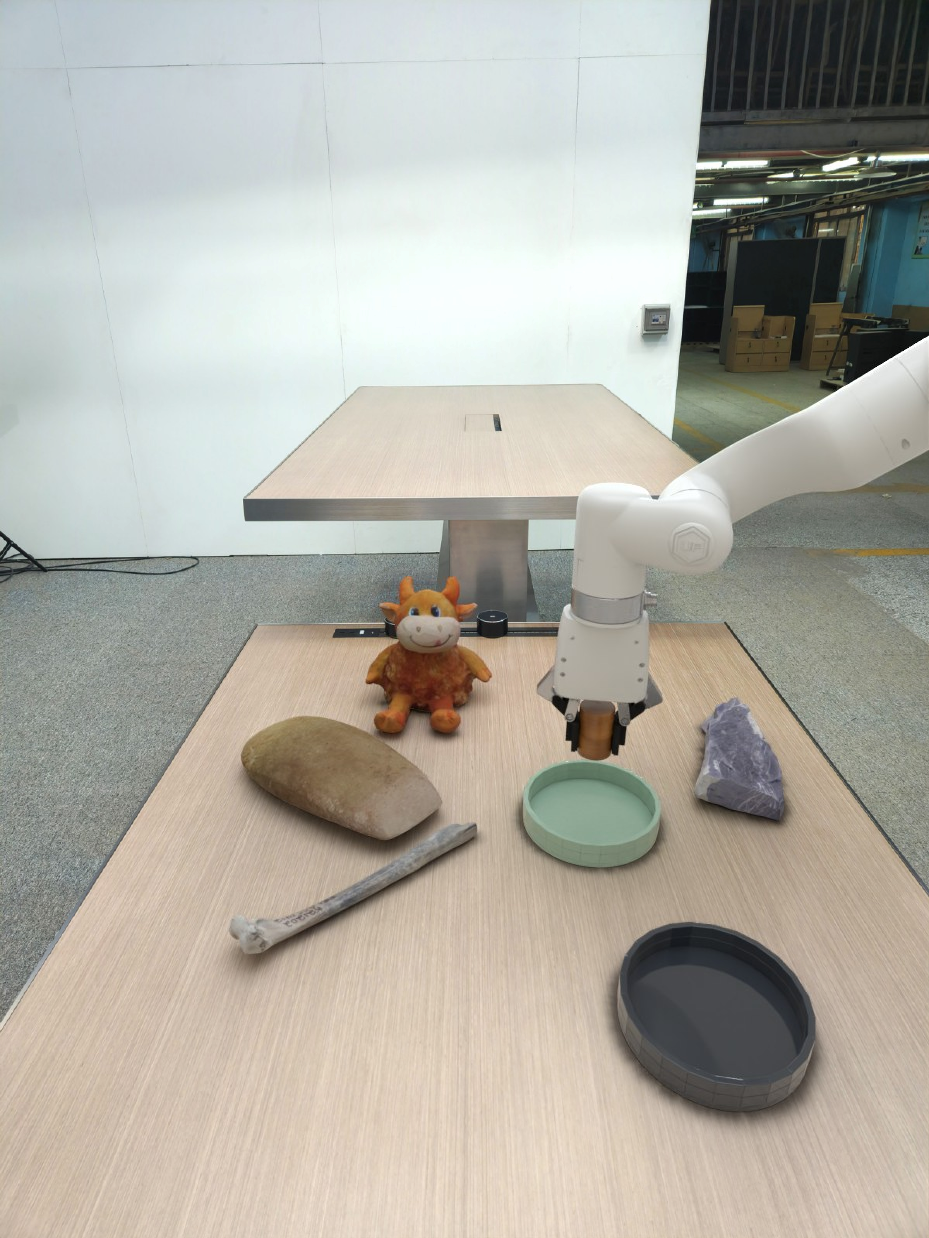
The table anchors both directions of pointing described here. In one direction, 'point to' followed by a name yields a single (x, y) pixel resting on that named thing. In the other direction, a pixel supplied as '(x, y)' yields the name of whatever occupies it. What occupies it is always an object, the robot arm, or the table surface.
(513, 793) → the table surface
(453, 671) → the toy
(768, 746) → the rock
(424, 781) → the stone
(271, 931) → the bone
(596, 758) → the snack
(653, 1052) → the slate bowl
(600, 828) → the green bowl
